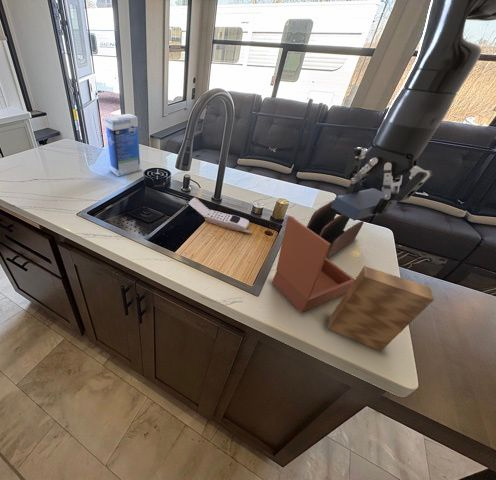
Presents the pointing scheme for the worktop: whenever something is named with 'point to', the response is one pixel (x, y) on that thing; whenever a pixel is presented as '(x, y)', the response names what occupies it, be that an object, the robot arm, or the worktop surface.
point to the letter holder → (333, 228)
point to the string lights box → (123, 143)
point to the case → (317, 287)
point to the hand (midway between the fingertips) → (362, 206)
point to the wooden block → (378, 307)
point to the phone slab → (359, 203)
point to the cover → (301, 256)
